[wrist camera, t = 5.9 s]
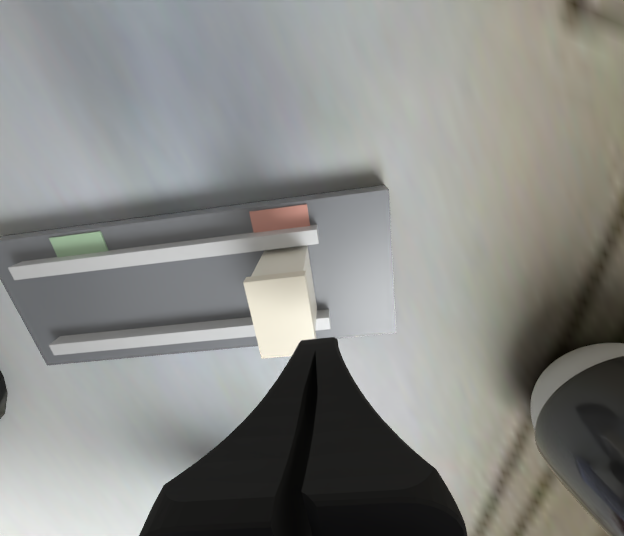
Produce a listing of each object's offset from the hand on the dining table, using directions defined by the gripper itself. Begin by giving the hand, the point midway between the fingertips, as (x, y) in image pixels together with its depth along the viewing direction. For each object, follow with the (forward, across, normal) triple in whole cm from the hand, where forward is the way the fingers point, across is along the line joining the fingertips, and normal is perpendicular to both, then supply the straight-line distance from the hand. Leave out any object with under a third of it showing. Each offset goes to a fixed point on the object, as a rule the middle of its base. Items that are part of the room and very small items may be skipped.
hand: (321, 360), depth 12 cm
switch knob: (+8, +2, 0) cm, 8 cm away
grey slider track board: (+9, +8, 0) cm, 12 cm away
